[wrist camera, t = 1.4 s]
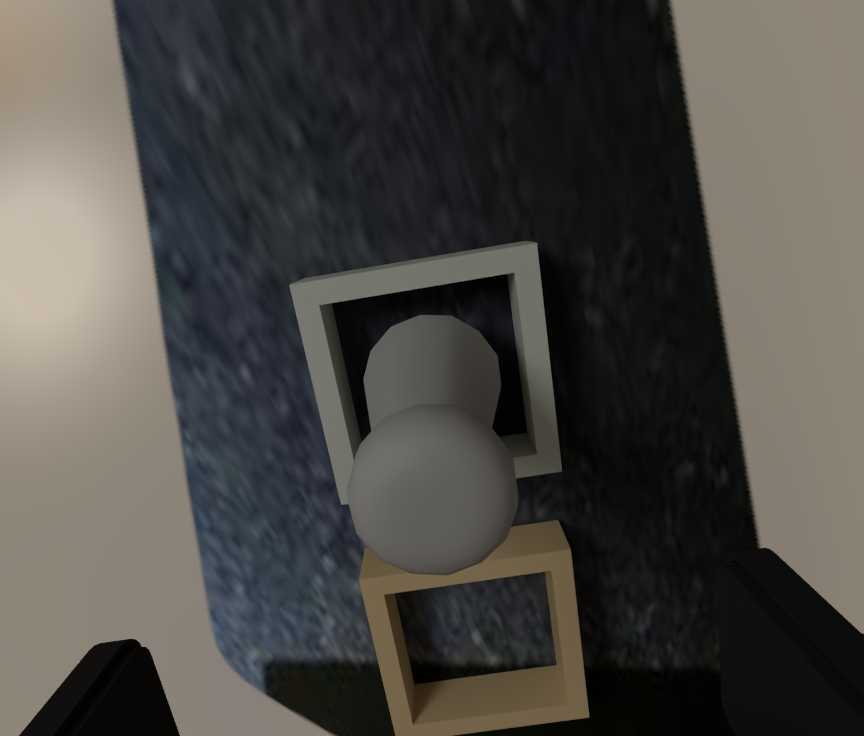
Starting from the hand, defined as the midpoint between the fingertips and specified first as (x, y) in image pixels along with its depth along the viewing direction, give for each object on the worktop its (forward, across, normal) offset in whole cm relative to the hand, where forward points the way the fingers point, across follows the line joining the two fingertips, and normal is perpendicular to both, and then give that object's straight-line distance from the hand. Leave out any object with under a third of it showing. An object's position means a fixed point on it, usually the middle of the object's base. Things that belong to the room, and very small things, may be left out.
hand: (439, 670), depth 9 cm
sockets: (+17, 0, +6) cm, 18 cm away
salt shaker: (+17, 0, -1) cm, 17 cm away
